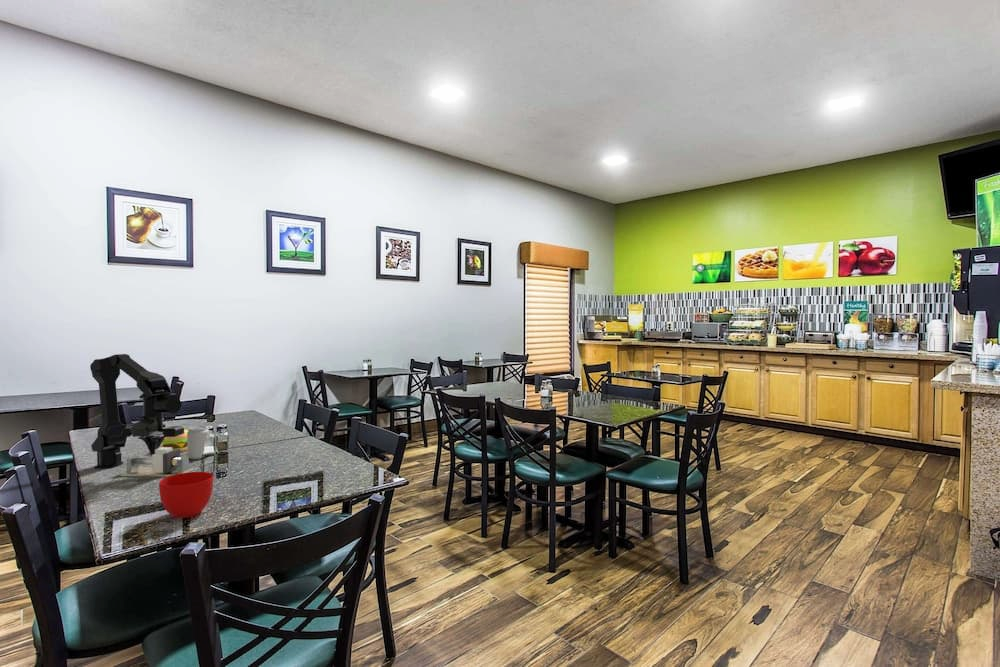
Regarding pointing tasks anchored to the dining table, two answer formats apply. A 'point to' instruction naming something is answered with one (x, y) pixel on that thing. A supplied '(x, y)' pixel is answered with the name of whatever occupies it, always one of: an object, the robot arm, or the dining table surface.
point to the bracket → (159, 459)
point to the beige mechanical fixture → (147, 471)
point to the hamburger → (176, 442)
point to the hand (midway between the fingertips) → (153, 455)
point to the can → (196, 441)
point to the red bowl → (186, 493)
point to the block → (167, 460)
